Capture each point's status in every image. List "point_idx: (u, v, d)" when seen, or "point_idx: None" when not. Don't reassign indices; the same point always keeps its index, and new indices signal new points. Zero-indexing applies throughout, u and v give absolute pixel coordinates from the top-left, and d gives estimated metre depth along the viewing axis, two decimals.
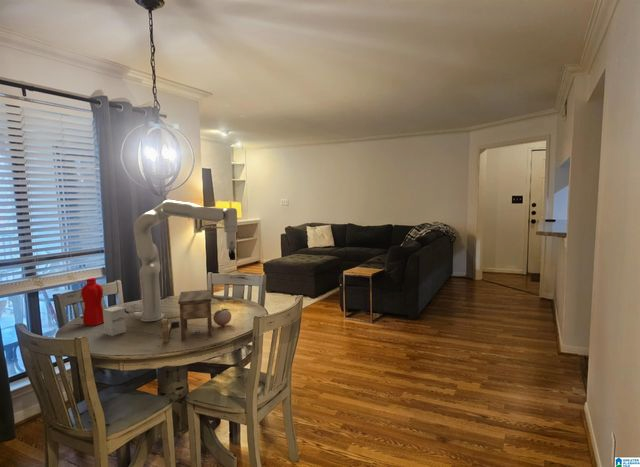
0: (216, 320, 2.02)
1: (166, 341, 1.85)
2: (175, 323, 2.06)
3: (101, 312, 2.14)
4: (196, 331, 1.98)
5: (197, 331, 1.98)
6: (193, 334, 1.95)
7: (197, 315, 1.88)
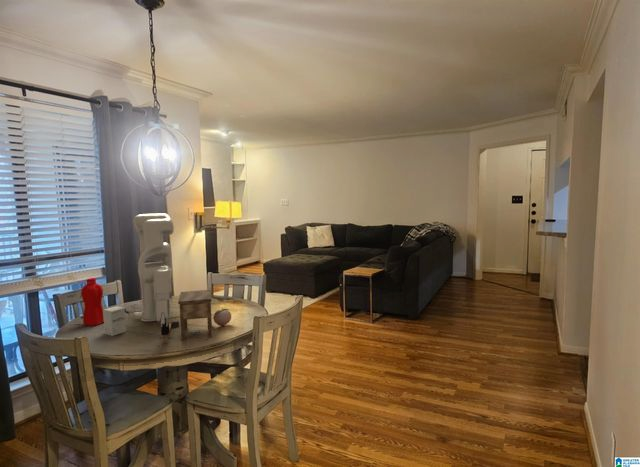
0: (216, 320, 2.02)
1: (166, 341, 1.85)
2: (175, 323, 2.06)
3: (101, 312, 2.14)
4: (196, 331, 1.98)
5: (197, 331, 1.98)
6: (193, 334, 1.95)
7: (197, 315, 1.88)
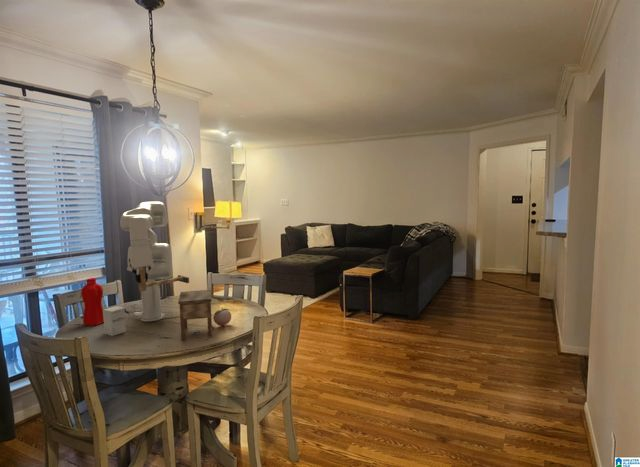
0: (216, 320, 2.02)
1: (140, 289, 1.84)
2: (185, 278, 1.99)
3: (101, 312, 2.14)
4: (196, 331, 1.98)
5: (197, 331, 1.98)
6: (193, 334, 1.95)
7: (197, 315, 1.88)
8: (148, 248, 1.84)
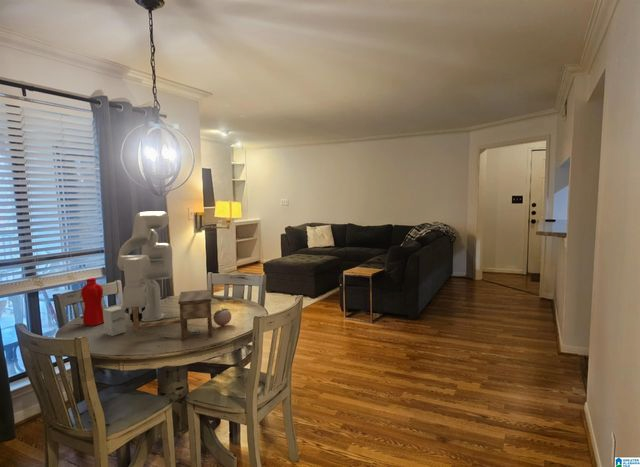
0: (216, 320, 2.02)
1: None
2: None
3: (101, 312, 2.14)
4: (196, 331, 1.98)
5: (197, 331, 1.98)
6: (193, 334, 1.95)
7: (197, 315, 1.88)
8: (140, 289, 1.86)
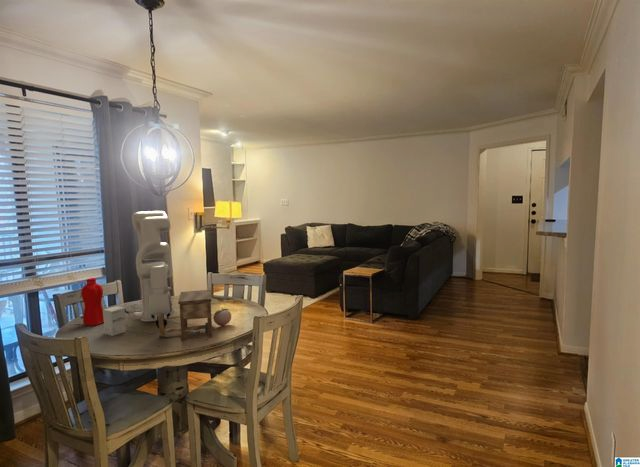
0: (216, 320, 2.02)
1: (159, 334, 1.92)
2: (205, 328, 1.96)
3: (101, 312, 2.14)
4: (196, 331, 1.98)
5: (197, 331, 1.98)
6: (193, 334, 1.95)
7: (197, 315, 1.88)
8: (165, 296, 1.90)
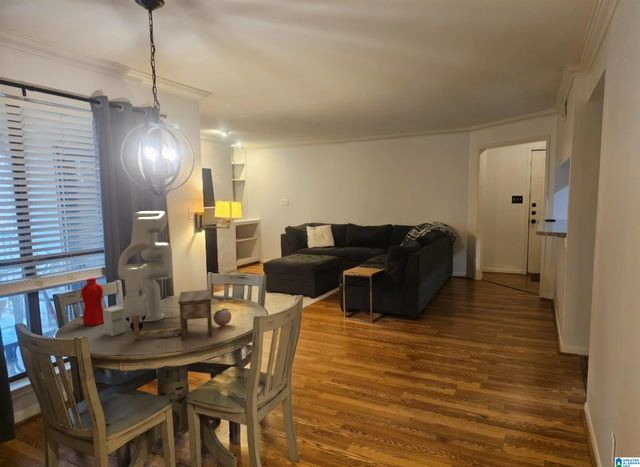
0: (216, 320, 2.02)
1: None
2: None
3: (101, 312, 2.14)
4: (178, 332, 1.95)
5: (179, 332, 1.95)
6: (175, 335, 1.93)
7: (197, 315, 1.88)
8: (140, 298, 1.87)
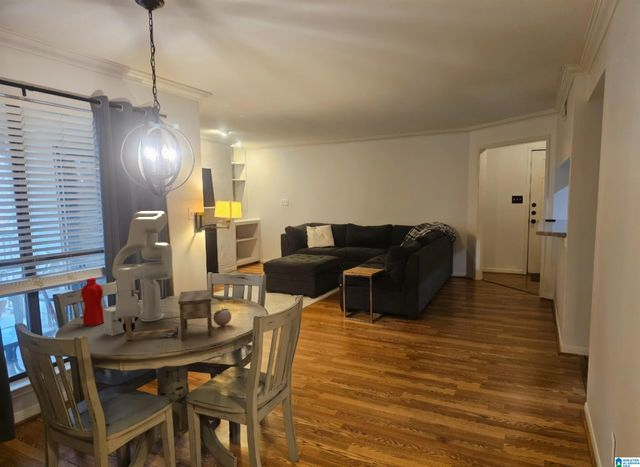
0: (216, 320, 2.02)
1: None
2: (174, 332, 1.92)
3: (101, 312, 2.14)
4: (171, 334, 1.94)
5: (172, 334, 1.94)
6: None
7: (197, 315, 1.88)
8: (133, 299, 1.86)
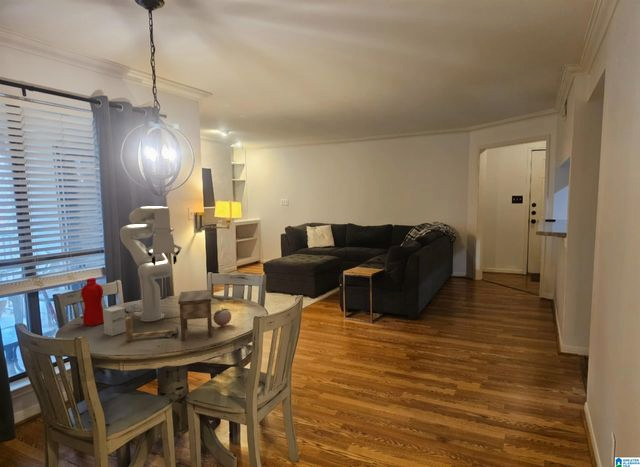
0: (216, 320, 2.02)
1: None
2: None
3: (101, 312, 2.14)
4: (171, 334, 1.94)
5: (172, 334, 1.94)
6: None
7: (197, 315, 1.88)
8: (168, 236, 2.01)
